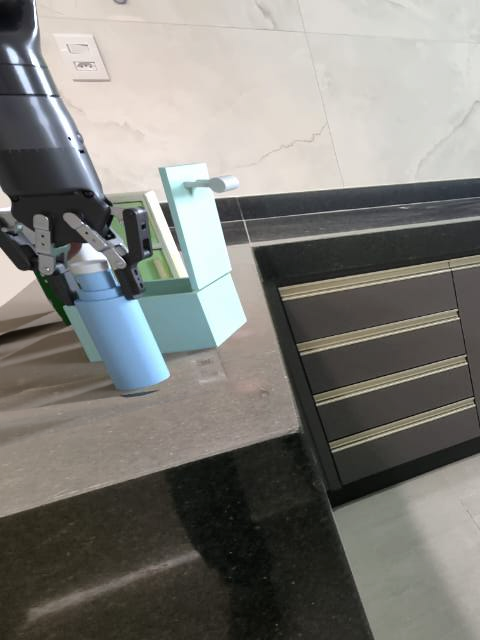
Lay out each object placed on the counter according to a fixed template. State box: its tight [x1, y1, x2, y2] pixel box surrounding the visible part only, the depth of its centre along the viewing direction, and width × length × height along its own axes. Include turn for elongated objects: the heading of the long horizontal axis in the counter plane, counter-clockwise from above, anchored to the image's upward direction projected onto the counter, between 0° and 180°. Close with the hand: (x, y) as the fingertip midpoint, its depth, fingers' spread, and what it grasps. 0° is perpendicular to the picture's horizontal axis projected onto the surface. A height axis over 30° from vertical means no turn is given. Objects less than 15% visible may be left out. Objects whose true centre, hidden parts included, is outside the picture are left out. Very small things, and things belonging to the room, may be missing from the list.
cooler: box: [63, 272, 248, 363], centre depth 78 cm, size 15×12×9 cm
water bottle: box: [70, 259, 171, 398], centre depth 63 cm, size 5×5×16 cm
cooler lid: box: [157, 162, 240, 290], centre depth 76 cm, size 16×12×6 cm
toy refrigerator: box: [103, 190, 189, 283], centre depth 87 cm, size 8×7×21 cm
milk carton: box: [32, 243, 118, 327], centre depth 89 cm, size 9×9×20 cm
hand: (106, 300), depth 62 cm, fingers closed on water bottle, 5 cm apart
